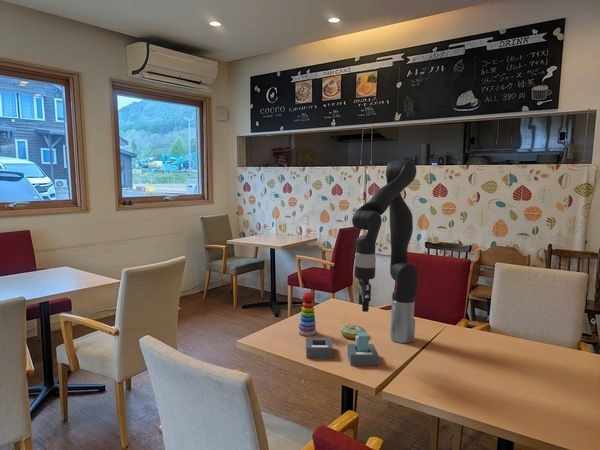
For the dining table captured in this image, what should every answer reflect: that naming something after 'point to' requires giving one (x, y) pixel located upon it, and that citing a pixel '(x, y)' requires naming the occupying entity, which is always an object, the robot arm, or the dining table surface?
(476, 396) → the dining table surface
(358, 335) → the plug
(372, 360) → the near socket block
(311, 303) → the stacking toy
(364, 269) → the robot arm
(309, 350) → the far socket block
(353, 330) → the decorated donut
